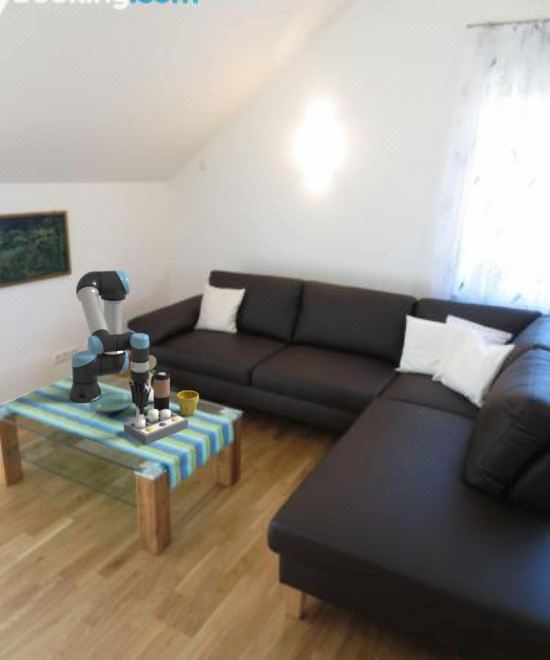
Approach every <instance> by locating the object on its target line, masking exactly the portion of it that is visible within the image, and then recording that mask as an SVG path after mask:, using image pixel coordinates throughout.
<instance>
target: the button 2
mask: <svg viewBox="0 0 550 660" xmlns="http://www.w3.org/2000/svg"><path fill="white" fill-rule="evenodd" d="M147 415H148V422H149V423H151V424H153V423H156V422H158V410H157V409H154V408H151V409H150V408H149V409H148V410H147Z"/></svg>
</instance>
